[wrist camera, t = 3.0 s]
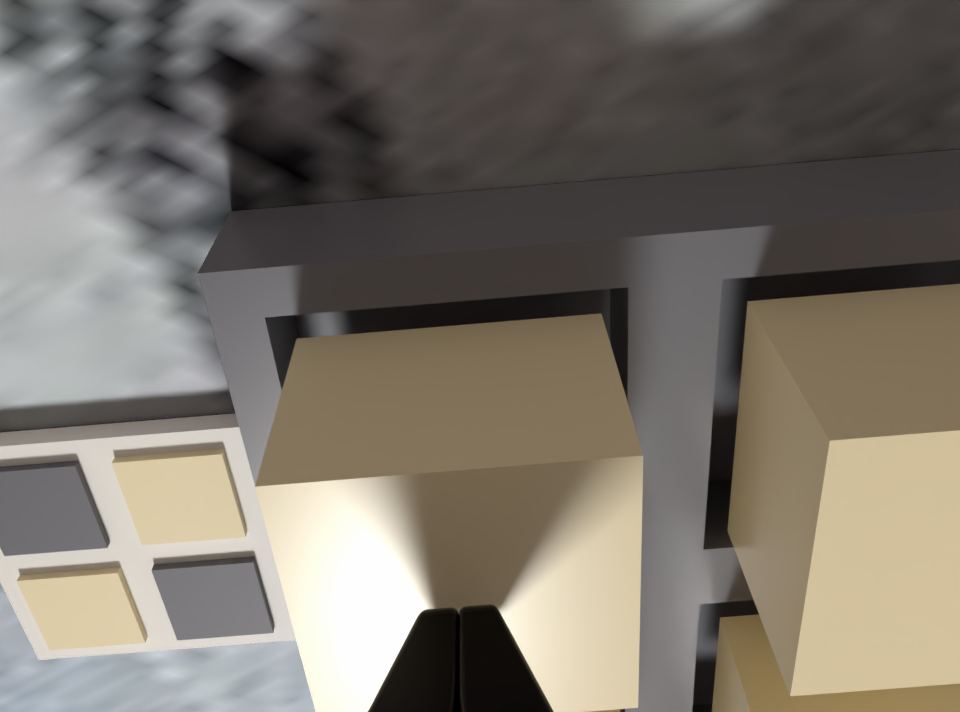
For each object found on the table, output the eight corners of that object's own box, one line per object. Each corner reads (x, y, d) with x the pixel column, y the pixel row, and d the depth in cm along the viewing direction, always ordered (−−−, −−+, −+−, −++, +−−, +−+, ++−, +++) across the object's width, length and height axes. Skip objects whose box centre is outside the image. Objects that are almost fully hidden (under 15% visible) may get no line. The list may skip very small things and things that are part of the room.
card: (47, 643, 18) (35, 666, 17) (-53, 436, 15) (-69, 457, 15) (302, 623, 18) (298, 646, 17) (247, 412, 15) (241, 432, 14)
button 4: (344, 561, 14) (321, 732, 11) (296, 338, 12) (254, 487, 9) (603, 540, 14) (638, 708, 11) (601, 313, 12) (643, 455, 9)
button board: (355, 735, 19) (346, 825, 18) (230, 211, 13) (197, 273, 11) (921, 692, 19) (966, 780, 17) (1070, 140, 13) (1164, 192, 11)
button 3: (727, 531, 14) (790, 696, 11) (747, 301, 12) (829, 440, 9) (990, 510, 14) (1112, 672, 11) (1058, 275, 12) (1226, 409, 9)
